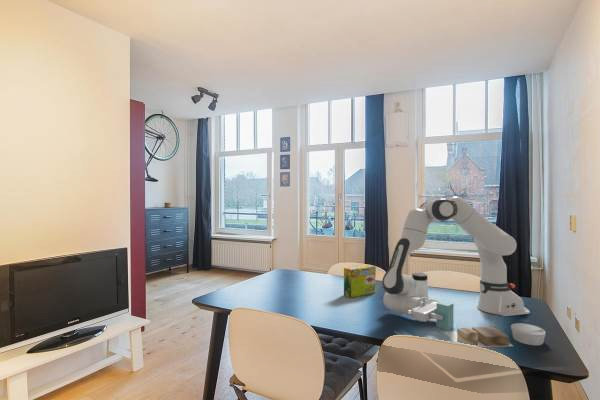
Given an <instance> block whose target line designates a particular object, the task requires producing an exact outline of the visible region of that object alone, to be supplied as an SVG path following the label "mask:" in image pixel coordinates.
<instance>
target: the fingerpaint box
mask: <svg viewBox="0 0 600 400" xmlns="http://www.w3.org/2000/svg"><path fill="white" fill-rule="evenodd" d="M376 269H377V267H376V265H372V264H362V265H355V266H348V267H346V266H345V267H344V268H343V296H346V297H347V298H355V297H361V296H366V295H371V294H376V276H377V275H376Z"/></svg>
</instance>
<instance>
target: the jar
mask: <svg viewBox="0 0 600 400" xmlns="http://www.w3.org/2000/svg"><path fill="white" fill-rule="evenodd" d="M411 277H413V279H414V280H415V283H416V288H415V292H414V295H413V297H428V295H429V279H428V274H427V273H422V272H413V273H412V275H411Z"/></svg>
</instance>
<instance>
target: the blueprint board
mask: <svg viewBox="0 0 600 400" xmlns="http://www.w3.org/2000/svg"><path fill="white" fill-rule="evenodd" d="M443 333H444V334H445V335H446V336H447V337H448V338H449V339H451V340H452V341H453V342H454V343H455V342H457V331H443ZM478 346H480V347H479V348H493V347H495V348H496V347H499V348H500V347H503V346H485V345H483V344H482V343H481V342H479V341H478ZM508 347H514V344H512V343H510V342H509V346H508Z"/></svg>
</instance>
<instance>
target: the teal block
mask: <svg viewBox="0 0 600 400" xmlns="http://www.w3.org/2000/svg"><path fill="white" fill-rule="evenodd" d="M437 314H441V315H444V319H442V320H440V319H436V324H435V325H436V328H439V329H442V330H446V331H450V330H451V329H453V328H454V302H450V301H445V300H441V301H440V302H438V303H437Z"/></svg>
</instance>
